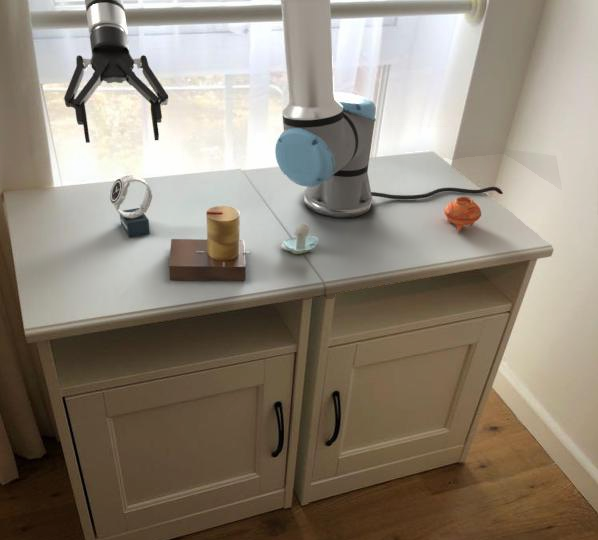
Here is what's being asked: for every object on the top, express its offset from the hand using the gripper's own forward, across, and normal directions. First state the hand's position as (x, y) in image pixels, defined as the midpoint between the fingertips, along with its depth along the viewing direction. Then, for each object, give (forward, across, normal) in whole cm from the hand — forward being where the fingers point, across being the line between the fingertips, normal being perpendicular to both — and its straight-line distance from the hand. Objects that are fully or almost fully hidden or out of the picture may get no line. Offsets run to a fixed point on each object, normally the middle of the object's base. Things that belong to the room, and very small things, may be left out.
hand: (122, 138), depth 133 cm
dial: (+27, -15, +11) cm, 33 cm away
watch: (+18, 0, -3) cm, 18 cm away
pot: (+23, -70, +3) cm, 74 cm away
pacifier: (+27, -31, +6) cm, 42 cm away
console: (+29, -12, +9) cm, 33 cm away
